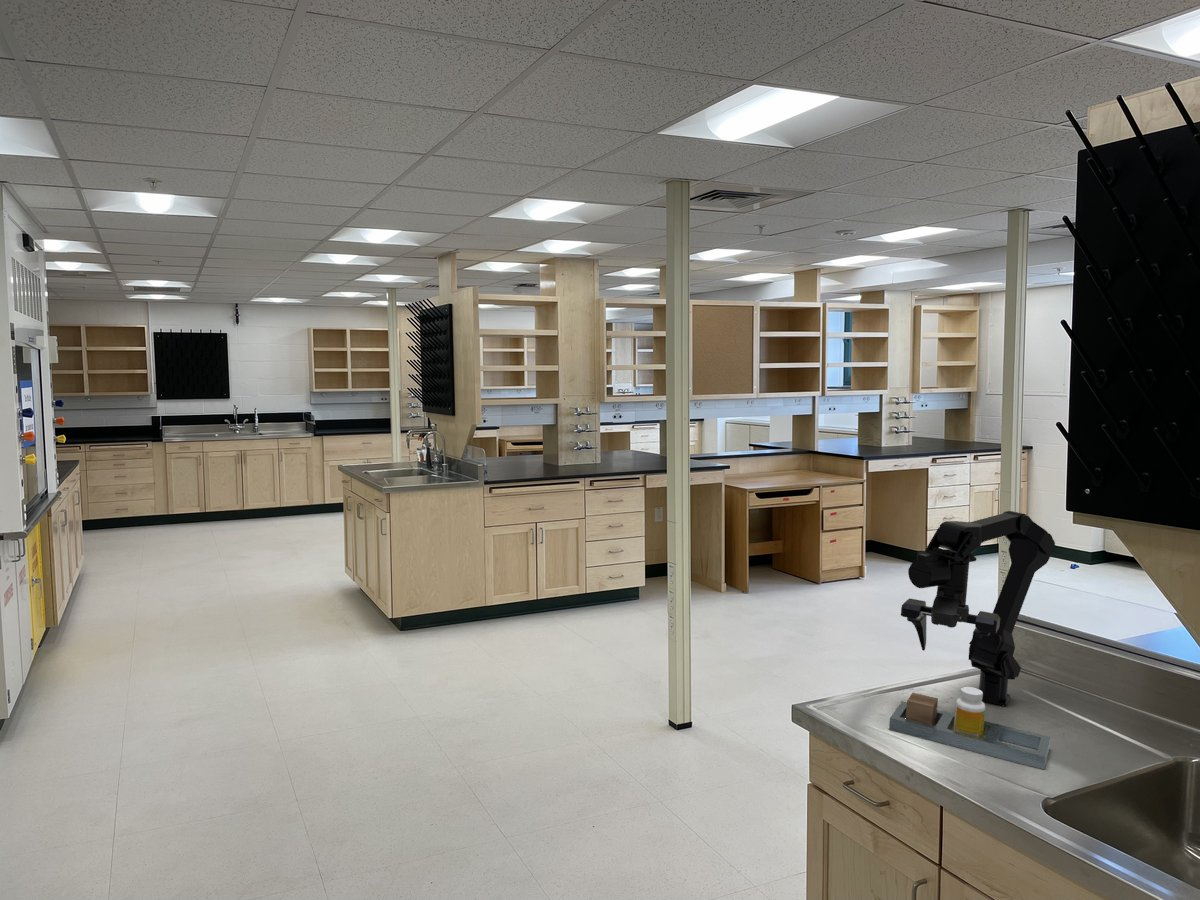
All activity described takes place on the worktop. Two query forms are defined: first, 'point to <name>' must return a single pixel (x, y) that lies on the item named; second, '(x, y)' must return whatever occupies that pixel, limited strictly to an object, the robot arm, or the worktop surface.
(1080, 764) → the worktop surface
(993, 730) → the rail
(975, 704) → the supplement bottle
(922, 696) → the walnut block
